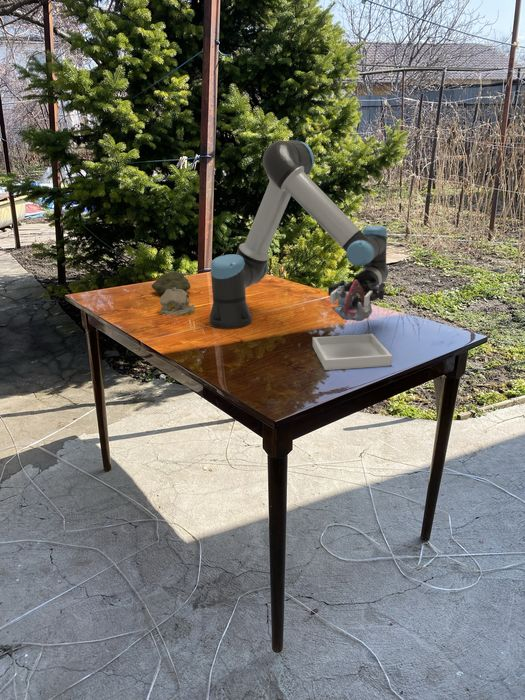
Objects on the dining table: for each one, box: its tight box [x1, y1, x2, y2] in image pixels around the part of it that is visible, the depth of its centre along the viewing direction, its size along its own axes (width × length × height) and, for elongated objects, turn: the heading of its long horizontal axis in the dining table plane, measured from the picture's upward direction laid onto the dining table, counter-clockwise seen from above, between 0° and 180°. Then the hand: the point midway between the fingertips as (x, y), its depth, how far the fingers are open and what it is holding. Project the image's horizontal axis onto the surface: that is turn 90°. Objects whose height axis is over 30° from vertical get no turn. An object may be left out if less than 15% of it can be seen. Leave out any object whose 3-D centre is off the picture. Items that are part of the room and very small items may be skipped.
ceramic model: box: [159, 287, 196, 316], centre depth 203 cm, size 14×11×10 cm
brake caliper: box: [331, 279, 373, 322], centre depth 152 cm, size 11×11×12 cm
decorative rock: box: [151, 270, 191, 294], centre depth 229 cm, size 15×16×10 cm
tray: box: [312, 333, 393, 371], centre depth 156 cm, size 19×19×3 cm
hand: (348, 300), depth 146 cm, fingers closed on brake caliper, 9 cm apart
